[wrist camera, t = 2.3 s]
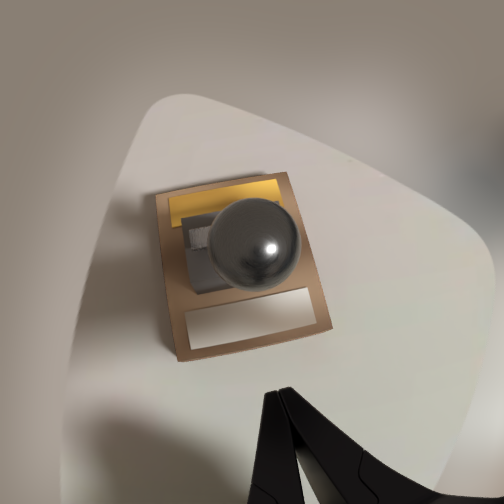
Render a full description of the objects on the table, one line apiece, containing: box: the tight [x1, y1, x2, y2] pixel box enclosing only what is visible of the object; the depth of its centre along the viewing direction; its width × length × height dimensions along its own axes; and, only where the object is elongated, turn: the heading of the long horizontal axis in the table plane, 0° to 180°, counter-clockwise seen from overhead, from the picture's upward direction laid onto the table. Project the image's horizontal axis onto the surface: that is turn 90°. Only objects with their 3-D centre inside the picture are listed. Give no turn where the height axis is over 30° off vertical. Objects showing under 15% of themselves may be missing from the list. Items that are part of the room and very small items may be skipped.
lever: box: [189, 198, 301, 292], centre depth 13 cm, size 3×5×9 cm, turn 103°
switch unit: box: [156, 172, 333, 362], centre depth 21 cm, size 12×10×5 cm
